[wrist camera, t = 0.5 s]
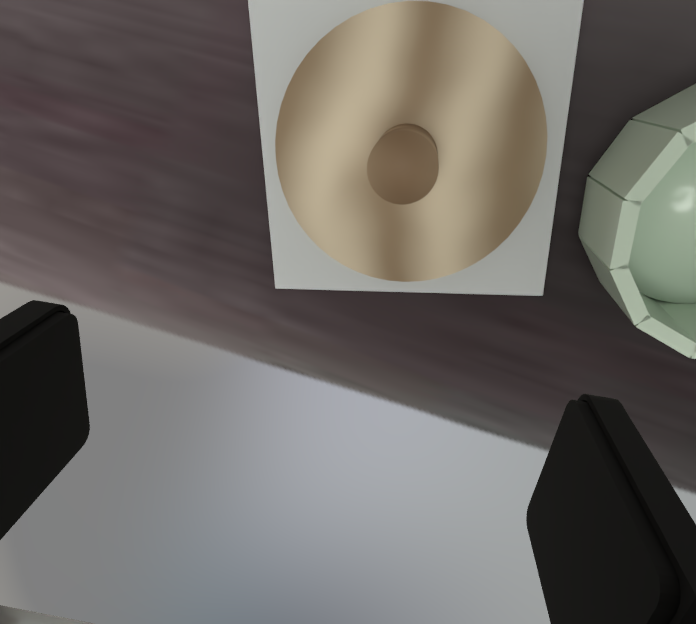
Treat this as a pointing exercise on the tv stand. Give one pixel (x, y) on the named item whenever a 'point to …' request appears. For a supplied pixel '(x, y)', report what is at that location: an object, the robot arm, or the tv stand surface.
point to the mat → (555, 88)
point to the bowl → (648, 221)
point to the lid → (411, 141)
